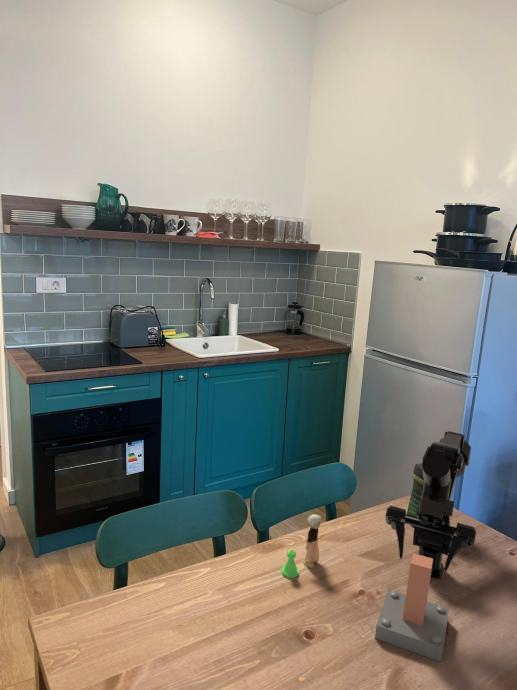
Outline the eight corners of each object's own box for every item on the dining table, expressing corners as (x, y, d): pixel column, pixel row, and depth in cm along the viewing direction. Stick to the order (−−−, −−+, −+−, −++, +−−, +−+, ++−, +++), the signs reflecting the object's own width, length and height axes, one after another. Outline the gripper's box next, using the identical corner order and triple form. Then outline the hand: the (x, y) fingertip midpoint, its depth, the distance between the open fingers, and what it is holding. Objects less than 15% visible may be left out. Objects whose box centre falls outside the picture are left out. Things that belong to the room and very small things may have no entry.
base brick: (386, 601, 121) (388, 587, 120) (447, 620, 116) (449, 606, 115) (374, 638, 109) (376, 623, 109) (441, 661, 104) (443, 646, 104)
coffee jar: (419, 532, 151) (428, 471, 148) (401, 518, 158) (409, 459, 155) (445, 527, 155) (454, 467, 152) (427, 513, 162) (435, 456, 159)
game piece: (296, 580, 126) (298, 557, 125) (278, 575, 128) (280, 552, 126) (300, 569, 130) (302, 547, 129) (283, 565, 132) (285, 543, 130)
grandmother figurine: (317, 571, 130) (322, 523, 128) (301, 568, 131) (306, 521, 128) (320, 554, 137) (324, 508, 135) (305, 551, 138) (309, 506, 136)
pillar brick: (405, 608, 115) (413, 553, 112) (424, 614, 113) (433, 558, 111) (402, 619, 111) (410, 563, 108) (422, 626, 109) (431, 569, 107)
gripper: (392, 472, 119) (376, 541, 111) (482, 493, 112) (472, 568, 104) (394, 490, 128) (379, 555, 120) (477, 510, 121) (468, 581, 113)
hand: (422, 564), depth 114 cm, fingers open, 9 cm apart
